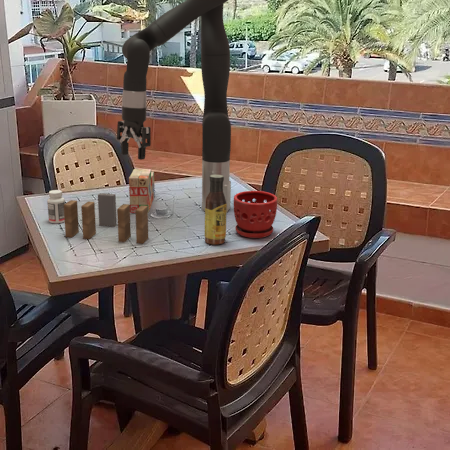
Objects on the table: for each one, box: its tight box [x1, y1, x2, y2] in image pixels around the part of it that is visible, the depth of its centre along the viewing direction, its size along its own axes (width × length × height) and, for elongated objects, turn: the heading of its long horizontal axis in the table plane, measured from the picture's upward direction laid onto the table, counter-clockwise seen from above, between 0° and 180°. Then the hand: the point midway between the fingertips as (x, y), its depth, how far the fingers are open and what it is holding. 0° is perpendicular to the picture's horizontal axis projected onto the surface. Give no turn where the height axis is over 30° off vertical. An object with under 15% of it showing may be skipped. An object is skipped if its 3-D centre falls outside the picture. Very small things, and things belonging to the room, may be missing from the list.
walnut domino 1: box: [64, 199, 80, 238], centre depth 194 cm, size 2×5×10 cm, turn 168°
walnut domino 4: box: [135, 205, 149, 245], centre depth 190 cm, size 2×5×10 cm, turn 169°
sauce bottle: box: [203, 175, 228, 246], centre depth 188 cm, size 6×6×20 cm
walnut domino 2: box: [80, 201, 97, 240], centre depth 193 cm, size 2×5×10 cm, turn 168°
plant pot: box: [233, 190, 278, 239], centre depth 197 cm, size 13×13×12 cm
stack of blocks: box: [128, 168, 156, 214], centre depth 226 cm, size 21×6×12 cm, turn 0°
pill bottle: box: [46, 189, 66, 224], centre depth 206 cm, size 5×5×10 cm
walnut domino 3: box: [116, 203, 132, 243], centre depth 191 cm, size 2×5×10 cm, turn 168°
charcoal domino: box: [97, 192, 118, 228], centre depth 203 cm, size 2×5×10 cm, turn 78°
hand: (132, 156), depth 207 cm, fingers open, 8 cm apart
